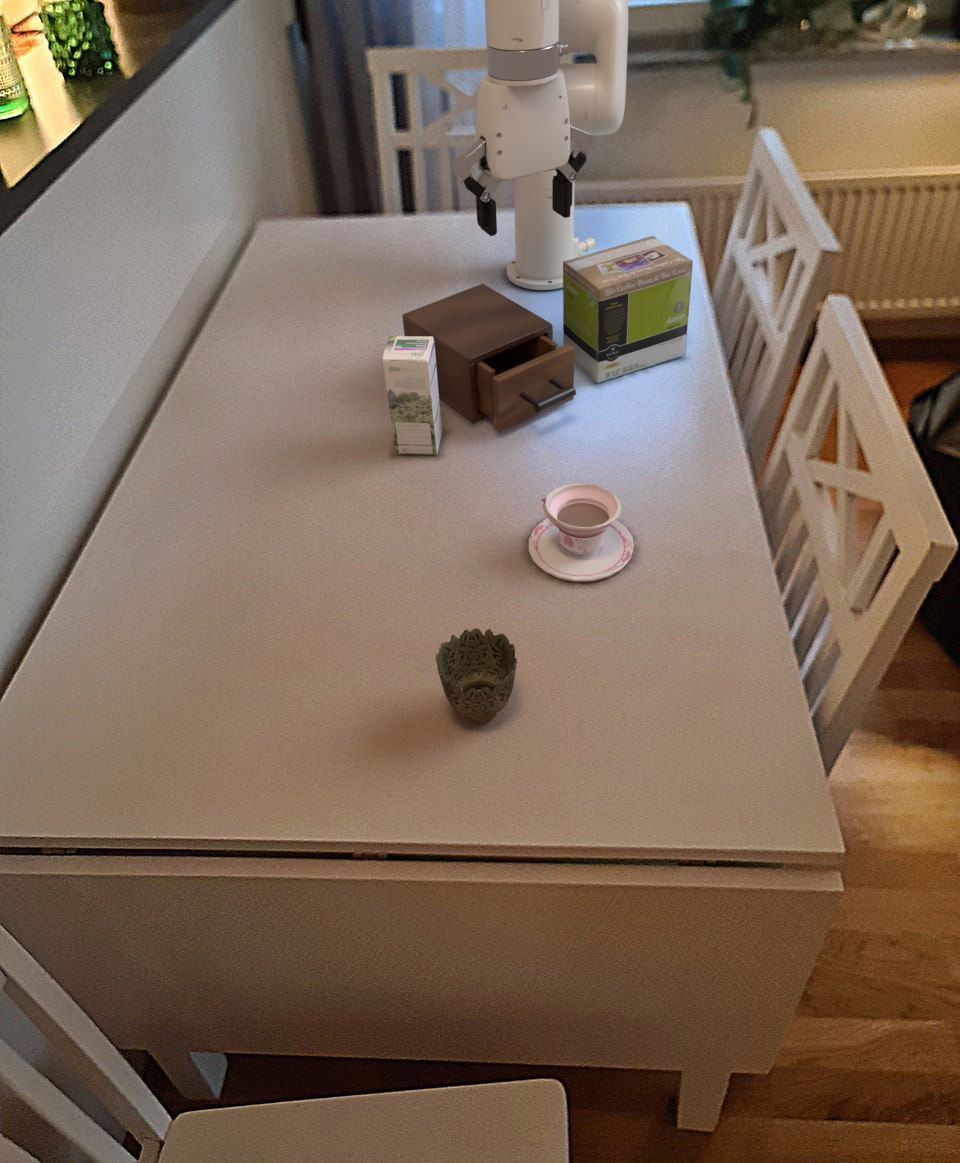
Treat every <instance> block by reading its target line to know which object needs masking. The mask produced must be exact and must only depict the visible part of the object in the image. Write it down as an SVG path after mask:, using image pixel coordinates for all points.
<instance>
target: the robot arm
mask: <svg viewBox="0 0 960 1163" xmlns="http://www.w3.org/2000/svg"><path fill="white" fill-rule="evenodd" d="M484 14H485V40H486V41H485V42H486V64H487V65H486V67H487V68H486V69H487V75H486V76H482V77H481V78H480V80H479V86H478V94H477V100H476V101H477V102H476V110H475V125H474V127H475V129H474V143H473V144H472V145H471V146H470V147H468V148H467V149H466V150H464V152H462V153H461V154H460V155H459V156H458V157H457V158H455V159H454V160H453V161H452V163H451V168H452V169H453V171H454V173H455V174H456V176H457V178H458V179H459V181H460V184H461V185H462V186H463V187H464V188H466V190H468V191H469V192H470V193H472V195H473V196H475V208H476V222H477V225H478V227H480V230H482V231H483V232H485V233H486V234H487V235H488V236H490V237H494V236H496V235H497V234H498V222H497V203H496V200H495V199H493V198H492V197H493V196H494V194H495V192H496V191H497V189H498V187H499V186H500V184H501V183H502V182H505V181H512V180H513V206H514V207H513V208H514V209H513V210H514V211H513V212H514V214H513V215H514V249H515V252H514V253H515V257H514V258H513V259H512V260H510V261H509V262H508V264H507V266H506V277H507V279H508V281H510V282H511V283H512V284H514V285H516V286H518V287H521V288H523V289H527V290H533V291H552V290H559V289H563V262H564V261H566V260H571V259H575V258H577V257H581V256H583V253H587V252H589V251H592V250H594V249H595V248H596V247H597V243H596V240H595V238H593V237H588V238H585V239H582V240H581V241H580V238H579V237H578V236H575V196H576V195H575V190H576V189H575V188H576V181H577V179H578V174H579V172H580V170H581V169H582V167H583V166H584V165H585V164H586V162H587V159H588V158H587V155H588V154H589V152H590V149H591V147H592V145H593V142H594V138H595V137H596V136H597V137H599V136H609V135H612V134H615V133H616V132H617V131H618V130H619V129H620V128H621V126H622V124H623V121H624V116H625V109H626V98H627V96H626V95H627V71H628V70H627V69H628V46H629V45H628V44H629V43H628V42H629V0H484ZM569 53H570V54H572V53H573V54H575V53H589V54H592V55H593V56H594V57H595V59H596V62H590V63H589V62H588V63H587V62H586V63H585V62H584V63H568V62H567V63H561V60H560V59H561V58H562V57H565V56H568V55H569ZM571 140H572V141H574V142H575V145H574V150H572V152H571ZM474 165H476V168H477V169H478V170H479V171H480V172H479V174H478V176H476V179H475V178H474V177H473V175H472V172H471V168H472V167H473V166H474Z"/></svg>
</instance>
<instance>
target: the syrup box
mask: <svg viewBox="0 0 960 1163" xmlns="http://www.w3.org/2000/svg"><path fill="white" fill-rule="evenodd" d="M386 341H387V342H386V344H385V347H384V349H383V353H382V357H381V359H382V360H381V362H382V363H381V364H382V368H383V369H382V370H383V376H384V384H385V389H386V398H387V405H388V413H389V420H390V424H391V425H390V427H391V434H392V440H393V448H394V454H395V455H396V456H398V455H399V456H437V455H438V453H439V448H440V444H441V440H442V435H443V422H442V417H441V416H442V415H441V414H442V413H441V406H440V405H441V404H440V399H439V392H438V381H437V368H436V355H435V345H434V338H433V336H405V335H391V336H390V335H389V336H388V339H387V340H386Z"/></svg>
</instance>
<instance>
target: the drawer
mask: <svg viewBox="0 0 960 1163" xmlns="http://www.w3.org/2000/svg"><path fill="white" fill-rule="evenodd" d="M574 348H575V347H573V346H572V345H570V344H567V345H565V346H564V345H563V346H561V347H558V343H557V342H556V341H554V340H553V341H552V340H550V339H549V338H547V337H545V336H544V335H540V336H537V337H535V338H533V339H530V340H528V341H526V342H523V343H521V344H519V345H516V346H514V347H512V348H509V349H507V350H505V351H502V352H500V353H498V354H495V355H493V356H491V357H488V358H486V359H484V360H481V361H479V362H476V363H474V364H475V378H476V394H477V409H478V410H479V411H481V412H482V413H483V414H485V415H486V416H487V418H489V419H490V420H491V421H493V429H494V431H496V432H497V433H498V434H502V433H504V432H506V431H509V430H510V429H513V428H514V427H516V426H518V425H521V424H523V423H525V422H527V421H530V420H532V419H533V418H536V417H538V416H541V415H542V414H544V413H546V412H549V411H551V410H553V409H555V408H558V407H560V406H561V405H564V404H566V403H568V402H570V401H572V400H574V397H575V396H576V395H577V390H576V388H575V363H574Z"/></svg>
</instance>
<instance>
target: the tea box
mask: <svg viewBox="0 0 960 1163" xmlns="http://www.w3.org/2000/svg"><path fill="white" fill-rule="evenodd" d="M693 264H694V262H693V259H691V258H689V257H688V256H685V255H684V254H682V253H681V252H680V251H678V250H676V249H674V248H673V247H672V246H670V245H668V244H667V243H665V242H663V241H662V240H660V239H659V238H657V237H655V235H651V236H647V237H644V238H640V239H637V240H633V241H630V242H626V243H623V244H620V245H615V246H612V247H609V248H605V249H601V250H599V251H594V252H591V253H588V254H584V255H581V256H579V257H577V258H575V259H571V260H566V261H564V262H563V288H562V293H563V294H562V309H563V310H562V311H563V312H562V313H563V315H562V323H563V324H562V330H563V331H562V332H563V333H562V334H563V337H562V338H563V346H565V345H567V344H570V345H572V346H573V347H575V348H574V365H575V366H577V367H578V368H579V369H580V370H581V371H583V373H585V375H587V376H588V377H589V378H590V379H592V381H594V382H595V383H596V384H599V383H602V382H605V381H608V380H612V379H615V378H619V377H620V376H624V375H627V374H630V373H634V372H636V371H639V370H643V369H646V368H649V367H652V366H655V365H659V364H662V363H665V362H668V361H670V360H673V359H678V358H680V357H684V356H685V355H686V351H687V350H686V348H687V339H688V325H689V316H690V303H691V289H692V276H693Z"/></svg>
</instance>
